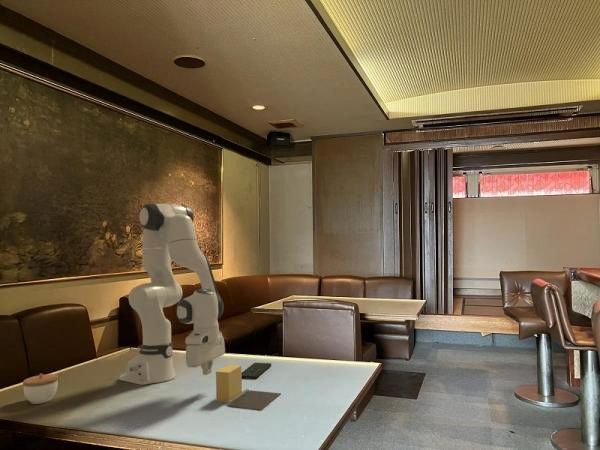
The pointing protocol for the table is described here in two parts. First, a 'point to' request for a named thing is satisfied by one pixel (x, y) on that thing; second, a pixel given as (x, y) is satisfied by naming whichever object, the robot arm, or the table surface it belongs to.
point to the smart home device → (255, 370)
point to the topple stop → (252, 399)
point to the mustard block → (228, 383)
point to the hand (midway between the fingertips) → (207, 373)
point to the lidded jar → (40, 388)
